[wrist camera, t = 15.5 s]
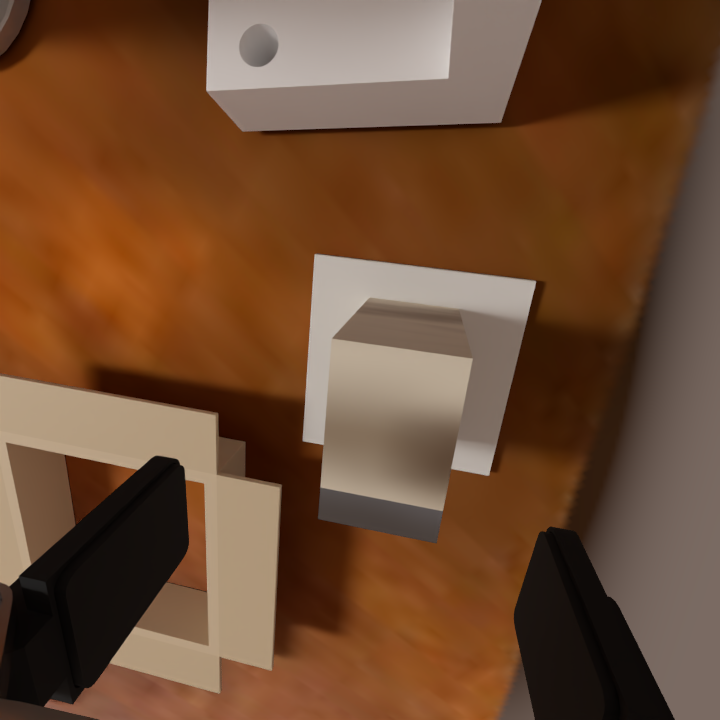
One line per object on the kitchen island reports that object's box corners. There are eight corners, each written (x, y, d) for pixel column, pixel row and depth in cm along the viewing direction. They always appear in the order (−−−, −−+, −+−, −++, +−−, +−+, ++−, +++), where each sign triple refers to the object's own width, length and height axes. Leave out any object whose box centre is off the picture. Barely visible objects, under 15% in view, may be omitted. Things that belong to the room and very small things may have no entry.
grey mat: (317, 253, 23) (314, 254, 23) (534, 280, 22) (536, 281, 21) (305, 437, 27) (302, 441, 27) (488, 471, 26) (488, 475, 25)
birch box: (369, 297, 23) (331, 338, 15) (458, 308, 22) (472, 358, 14) (356, 423, 26) (318, 519, 17) (436, 436, 25) (436, 543, 17)
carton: (-10, 345, 30) (-75, 362, 26) (304, 398, 26) (282, 427, 23) (40, 590, 37) (-4, 631, 34) (288, 654, 34) (269, 707, 30)
